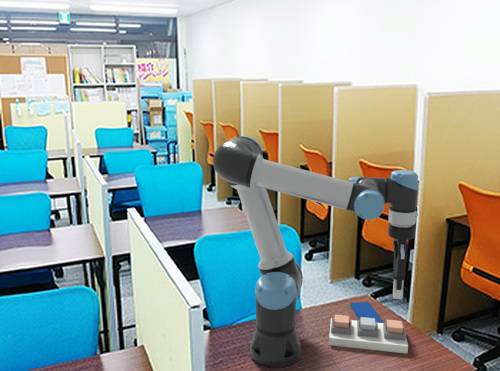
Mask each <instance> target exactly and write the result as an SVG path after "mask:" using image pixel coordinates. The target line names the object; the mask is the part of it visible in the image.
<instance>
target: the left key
mask: <svg viewBox="0 0 500 371" xmlns="http://www.w3.org/2000/svg"><path fill="white" fill-rule="evenodd" d="M334 318H335V320H334V327H339V328H349V319H350V316H349V315H344V314H334Z"/></svg>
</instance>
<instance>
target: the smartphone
mask: <svg viewBox="0 0 500 371" xmlns="http://www.w3.org/2000/svg"><path fill="white" fill-rule="evenodd" d="M349 307H350V308H351V309H352V312H353V313H354V314H355V316H356V318H357V320H360V318H361V317H365V318H375V322H377V323H384V321H383V319H382V318H381V316H380V315H379V314H378V312H377V311H376V310H375V308H374V307H373V306H372V304H371V303H370V302H368V301H363V302H362V301H361V302H360V301H359V302H350V303H349Z"/></svg>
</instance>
